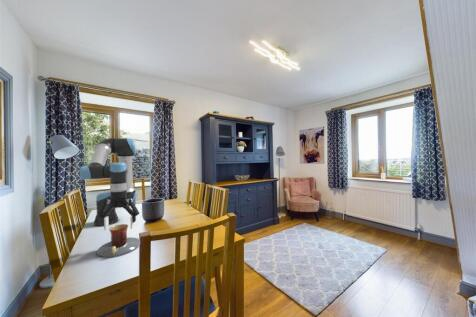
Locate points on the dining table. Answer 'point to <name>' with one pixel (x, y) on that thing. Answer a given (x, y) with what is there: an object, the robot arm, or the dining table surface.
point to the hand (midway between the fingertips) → (119, 228)
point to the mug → (119, 235)
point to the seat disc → (110, 251)
